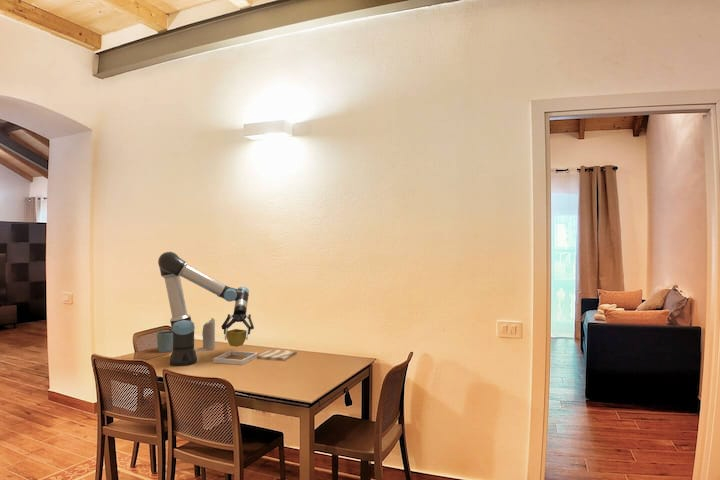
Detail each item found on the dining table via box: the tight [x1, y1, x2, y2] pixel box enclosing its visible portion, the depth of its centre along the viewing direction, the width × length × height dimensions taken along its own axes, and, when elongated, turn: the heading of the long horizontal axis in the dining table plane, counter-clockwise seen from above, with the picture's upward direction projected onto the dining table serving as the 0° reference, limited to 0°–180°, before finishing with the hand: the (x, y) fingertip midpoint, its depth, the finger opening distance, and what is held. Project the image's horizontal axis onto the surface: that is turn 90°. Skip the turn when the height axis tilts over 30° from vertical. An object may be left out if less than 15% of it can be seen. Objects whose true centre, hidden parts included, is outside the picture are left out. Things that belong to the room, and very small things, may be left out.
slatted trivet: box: [256, 348, 298, 361], centre depth 272 cm, size 18×18×2 cm
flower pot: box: [226, 328, 247, 348], centre depth 264 cm, size 9×9×9 cm
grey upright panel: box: [194, 317, 216, 352], centre depth 289 cm, size 7×14×20 cm, turn 107°
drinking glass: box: [156, 330, 173, 353], centre depth 286 cm, size 10×10×12 cm
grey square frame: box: [212, 350, 259, 366], centre depth 264 cm, size 19×19×2 cm
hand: (236, 338), depth 261 cm, fingers closed on flower pot, 11 cm apart
